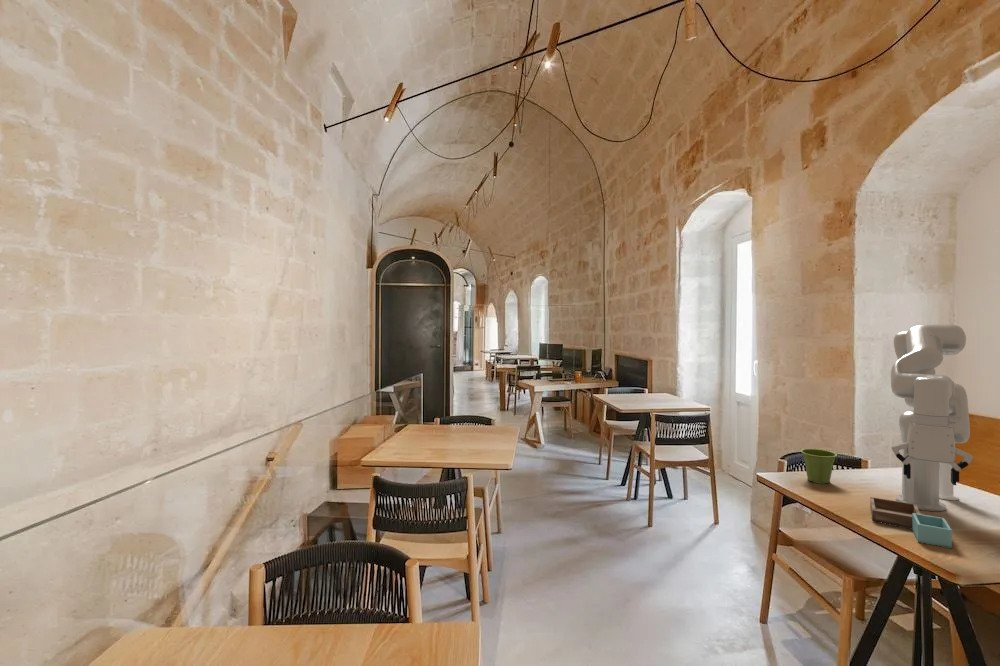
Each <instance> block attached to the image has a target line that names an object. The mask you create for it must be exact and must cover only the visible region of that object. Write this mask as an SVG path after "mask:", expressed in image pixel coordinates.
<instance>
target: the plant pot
mask: <svg viewBox="0 0 1000 666" xmlns="http://www.w3.org/2000/svg"><path fill="white" fill-rule="evenodd" d="M800 453H802V458H803V459H804V466H805V467H804V468H805V472H806V476H807V480H808V481H809V482H813V483H816V484H821V483H822V484H823V485H824V484H827V483H828V484H829V483H830V482H831V478H832V472H833V467H834V462H835V460H836V457H837V456H838V454H837V453H835V452H834V451H830V450H826V449H821V448H820V449H819V448H803V449H800ZM822 484H821V485H822Z"/></svg>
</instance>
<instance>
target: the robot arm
mask: <svg viewBox="0 0 1000 666" xmlns="http://www.w3.org/2000/svg"><path fill="white" fill-rule="evenodd" d="M966 342H967V336H966V333H965V331H964V329H963V328H962V327H961V326H959V325H956V324H918V325H915V326H914V325H913V326H912V327H910V328H909V329H907V330H904V331H900V332H897V333H896V334H895V335H894V337H893V348H894V352H895V355H896V358H897V360H896V361H895V362H894V364H893V365H892V367H891V370H890V371H891V372H890V389H891V392H892V393H893V395H894V396H896V397H897V398H902V399H904V401H905V404H906V405H907V406H908V407H910V408H913V410H906V411H903V412H902V413H901V414H900V416H899V419H898V425H899V430H900V437H901V444H897V445H894V446H891V450H892V452H893V453H894V455H895V457H896V458H897V459H898V460H899V461H901V463H902V465H901V467H902V468H901V475H902V476H901V494H900V495H896V497H895V501H900V502H906V503H912V504H916V505H917V507H918V510H921V511H929V512H932V511H933V512H943V511H946V508H947V507H946V504H945V503H943V502H942V501H940V498H939V467H940V462H942V463H949V464H950V465H951V466H952V469H951V483H952V484H953V485H954V486H957V482H958V483H959V482H960V472H961V471H962V470H963V469H965V468H967V467H968V466H969V464H970V463H971V462H972V461H973V459H974V457H973V455H971V454H969V453H968V452H965V451H963V450H962V449H960V448H957V447H956V444H964V443H967V442H968V441H969V439H970V435H971V430H970V429H971V425H970V423H971V422H970V413H969V402H968V401H969V400H968V395H967V391H966V389H965V387H964V386H963V385H961V384H959V383H956V382H955V381H953V380H952V379H951V377H949V376H947V375H942V374H936V368H938V367H939V366H940V365H941V364H942V363H943V360H944V356H955V355H958V354H959V353H961V352H962V351H963V350H964V349H965V347H966V344H967V343H966ZM900 451H902V452H901V453H900ZM956 454H957V455H959V456H961V457H962V458H963V460H961V461H959V462H958V463H956V457H957V455H956Z"/></svg>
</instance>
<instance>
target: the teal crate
mask: <svg viewBox="0 0 1000 666" xmlns="http://www.w3.org/2000/svg"><path fill="white" fill-rule="evenodd" d="M911 530H912V532H914V533H913V535H914V537H915V539H916V541H918V542H917V543H919V542H921V544H924V543H926V545H930V544H932V545H931V546H935V545H937V546H936V547H940V546H941V548H946V549H950V550H951V549H953V546H952V544H953V541H952V540H953V536H952V535H953V530H952V528H951V527H950V525H949V524H948V521H947V520H946V519H945V518H944V517H938V516H934V515H926V514H922V513H920V514H916V513H912V529H911Z"/></svg>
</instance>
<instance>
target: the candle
mask: <svg viewBox="0 0 1000 666" xmlns="http://www.w3.org/2000/svg"><path fill="white" fill-rule="evenodd" d="M951 469H952V466H951V465H950V464H949V463H942V462H940V467H939V500H946V501H958V500H959V496H957V495H956V494H954V493H955V491H954V489H955V488H954V486H955V485H953V484H952V483H951Z"/></svg>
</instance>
